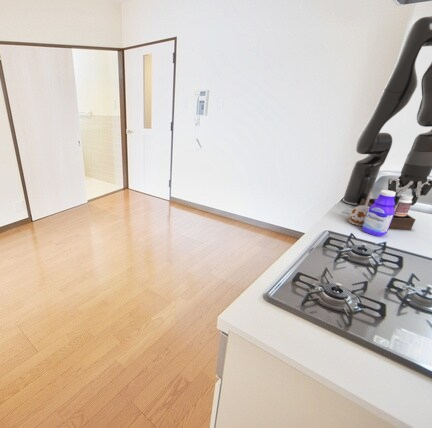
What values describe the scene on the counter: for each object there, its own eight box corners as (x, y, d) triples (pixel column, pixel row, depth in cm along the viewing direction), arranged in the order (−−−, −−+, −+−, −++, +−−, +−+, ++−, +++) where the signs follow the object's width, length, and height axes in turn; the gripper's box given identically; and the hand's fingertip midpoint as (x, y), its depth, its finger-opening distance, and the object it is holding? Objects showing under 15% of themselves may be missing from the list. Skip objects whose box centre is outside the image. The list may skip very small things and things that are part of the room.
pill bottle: (409, 216, 111) (418, 196, 107) (399, 217, 110) (407, 197, 106) (396, 211, 115) (404, 192, 111) (386, 212, 114) (394, 193, 111)
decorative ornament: (343, 220, 121) (354, 187, 114) (359, 218, 121) (371, 186, 115) (359, 228, 114) (371, 194, 107) (376, 226, 114) (390, 192, 108)
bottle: (358, 230, 112) (372, 190, 105) (366, 227, 114) (381, 187, 107) (379, 238, 106) (397, 196, 99) (388, 235, 108) (406, 193, 101)
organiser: (358, 207, 131) (361, 198, 129) (377, 208, 129) (381, 198, 127) (388, 229, 112) (392, 218, 110) (410, 230, 110) (415, 219, 108)
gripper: (434, 160, 105) (416, 201, 112) (389, 159, 108) (374, 200, 116) (451, 165, 99) (431, 209, 106) (403, 165, 102) (386, 207, 109)
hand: (401, 204), depth 111 cm, fingers closed on pill bottle, 4 cm apart
